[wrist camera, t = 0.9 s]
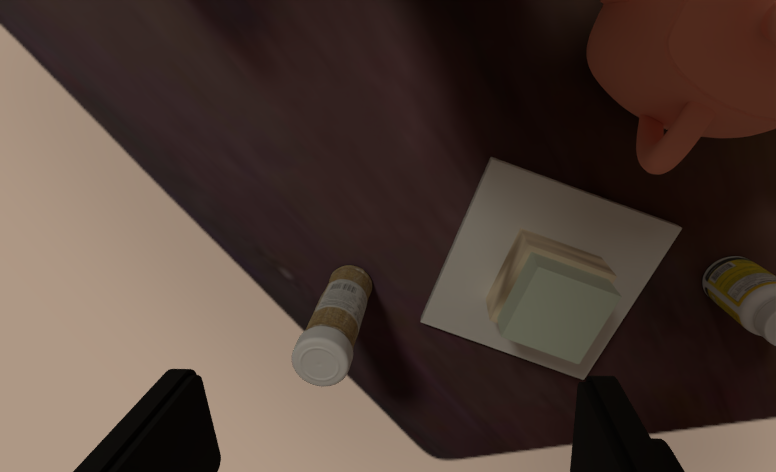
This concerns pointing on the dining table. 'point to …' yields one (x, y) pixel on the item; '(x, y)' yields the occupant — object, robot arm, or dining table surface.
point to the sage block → (557, 308)
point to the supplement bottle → (744, 294)
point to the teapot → (687, 70)
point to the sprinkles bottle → (333, 328)
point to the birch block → (544, 247)
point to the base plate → (552, 220)
